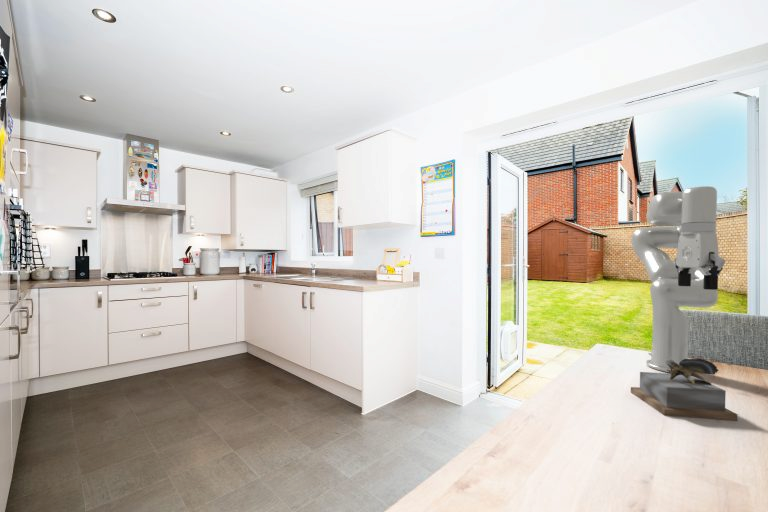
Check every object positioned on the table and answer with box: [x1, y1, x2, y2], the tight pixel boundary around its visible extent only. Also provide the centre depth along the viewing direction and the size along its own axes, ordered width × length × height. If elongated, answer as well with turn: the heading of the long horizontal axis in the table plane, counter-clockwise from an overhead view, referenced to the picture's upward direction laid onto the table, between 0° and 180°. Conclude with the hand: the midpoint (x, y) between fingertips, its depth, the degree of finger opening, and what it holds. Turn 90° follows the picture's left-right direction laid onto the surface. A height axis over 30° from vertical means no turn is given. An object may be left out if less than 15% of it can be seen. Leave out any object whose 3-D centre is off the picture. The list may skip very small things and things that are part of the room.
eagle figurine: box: [666, 358, 719, 385], centre depth 89 cm, size 8×7×9 cm
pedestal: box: [630, 371, 739, 421], centre depth 89 cm, size 14×16×6 cm
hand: (696, 287), depth 99 cm, fingers open, 9 cm apart
